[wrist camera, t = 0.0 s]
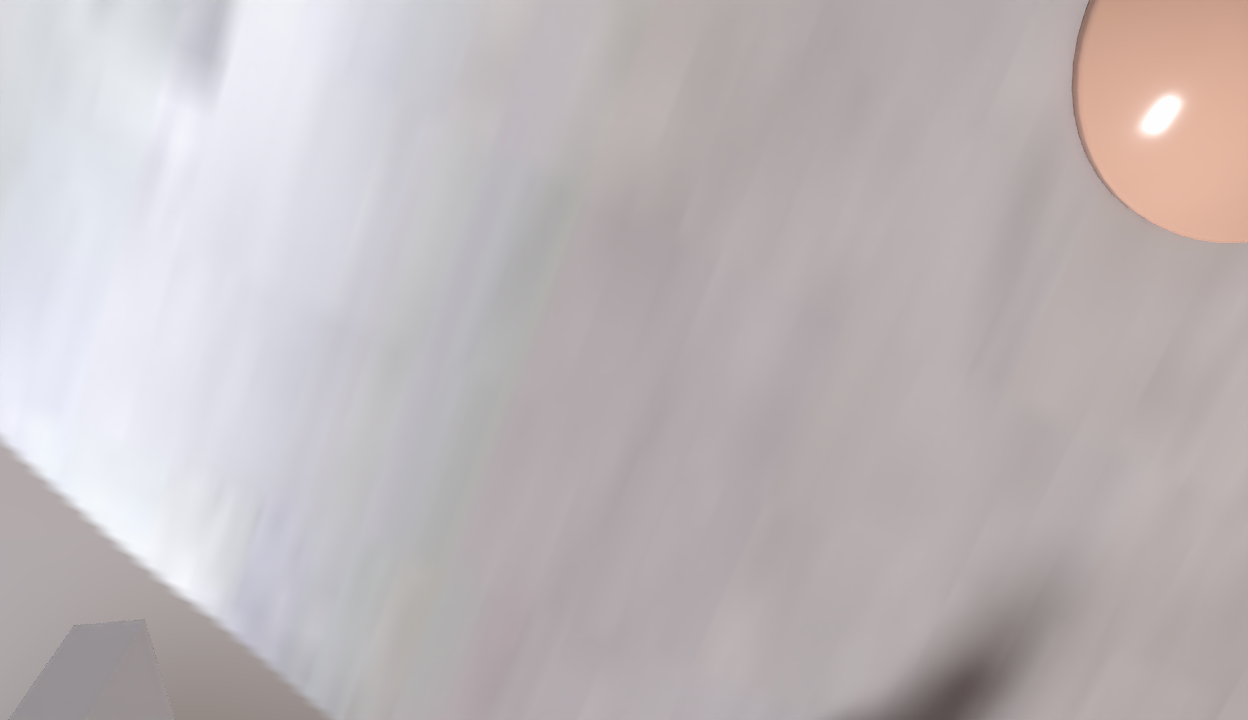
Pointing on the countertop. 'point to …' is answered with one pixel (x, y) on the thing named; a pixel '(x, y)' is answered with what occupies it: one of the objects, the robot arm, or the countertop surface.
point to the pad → (1168, 110)
